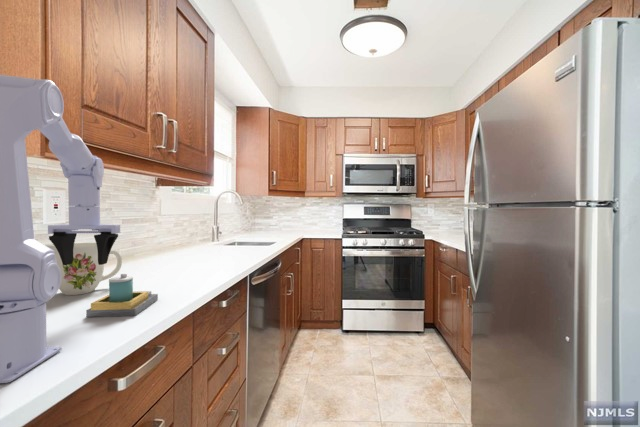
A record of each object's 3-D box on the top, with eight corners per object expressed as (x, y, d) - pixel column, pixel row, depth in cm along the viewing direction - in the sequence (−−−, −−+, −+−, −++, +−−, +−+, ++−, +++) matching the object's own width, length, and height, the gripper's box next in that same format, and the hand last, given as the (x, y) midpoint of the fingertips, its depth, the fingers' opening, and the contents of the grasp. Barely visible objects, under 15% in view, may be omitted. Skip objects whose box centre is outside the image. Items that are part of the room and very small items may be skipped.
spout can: (126, 306, 65) (126, 277, 65) (104, 307, 65) (104, 277, 65) (137, 300, 70) (136, 272, 70) (116, 300, 69) (116, 273, 69)
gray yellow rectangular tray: (135, 315, 64) (135, 302, 64) (86, 317, 63) (86, 303, 63) (160, 297, 76) (160, 286, 76) (119, 299, 75) (119, 287, 75)
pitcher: (126, 288, 85) (125, 241, 85) (41, 302, 72) (40, 247, 72) (117, 281, 93) (117, 238, 92) (39, 293, 80) (38, 243, 79)
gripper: (127, 206, 73) (127, 260, 73) (64, 206, 71) (64, 261, 71) (109, 206, 66) (110, 266, 66) (39, 206, 64) (40, 267, 64)
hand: (85, 264), depth 68 cm, fingers open, 7 cm apart
